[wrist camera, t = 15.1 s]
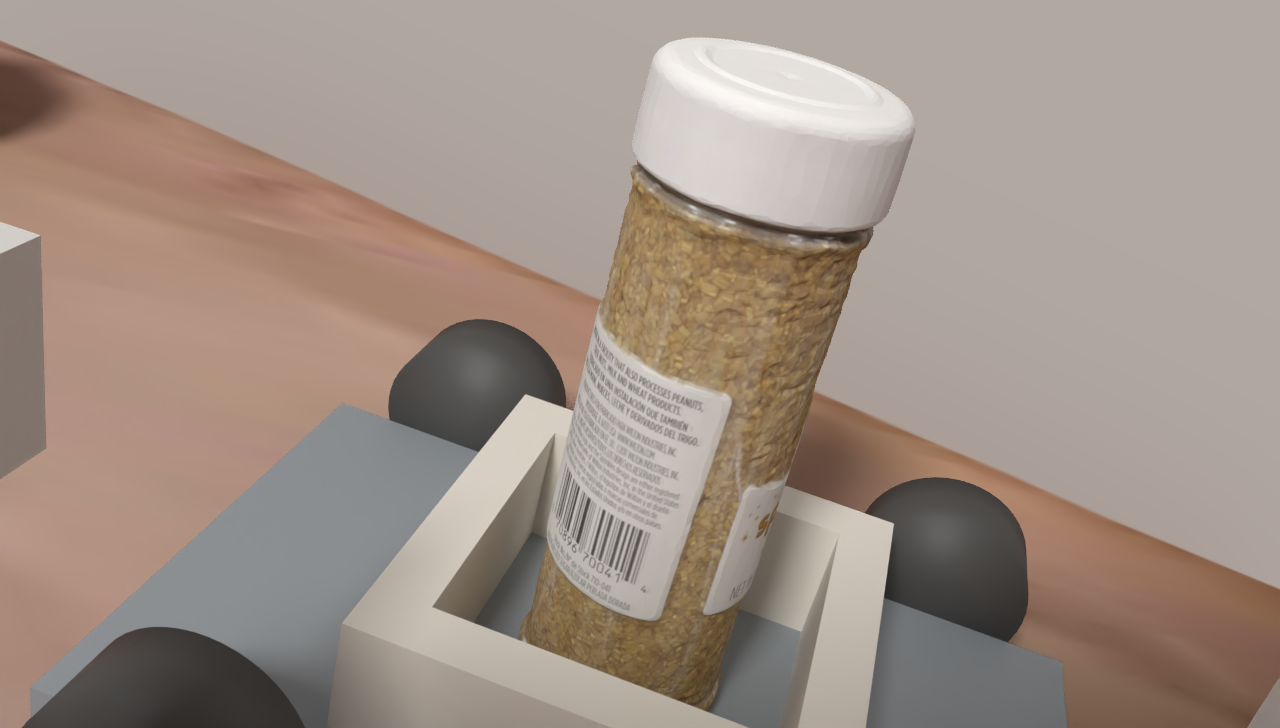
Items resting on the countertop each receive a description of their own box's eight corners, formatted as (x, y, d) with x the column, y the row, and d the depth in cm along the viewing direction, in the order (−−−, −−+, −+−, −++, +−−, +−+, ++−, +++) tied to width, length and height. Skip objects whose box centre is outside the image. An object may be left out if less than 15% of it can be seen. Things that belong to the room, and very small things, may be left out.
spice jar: (751, 727, 25) (980, 131, 19) (558, 770, 23) (745, 112, 17) (656, 586, 29) (823, 41, 22) (479, 612, 26) (610, 14, 20)
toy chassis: (1036, 656, 32) (1104, 525, 30) (1070, 1305, 18) (1201, 1146, 16) (369, 415, 35) (389, 280, 33) (-49, 822, 21) (-63, 631, 19)
